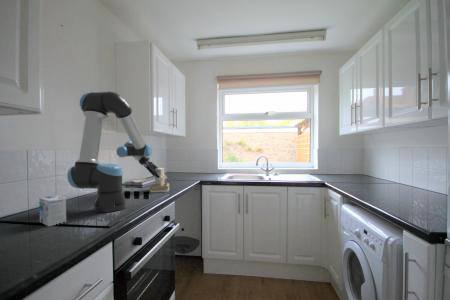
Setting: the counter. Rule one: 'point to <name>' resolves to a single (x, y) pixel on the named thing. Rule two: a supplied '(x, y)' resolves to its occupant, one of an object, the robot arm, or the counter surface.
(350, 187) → the counter surface
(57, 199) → the light bulb box
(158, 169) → the supplement box
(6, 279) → the counter surface
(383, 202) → the counter surface
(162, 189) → the dock
